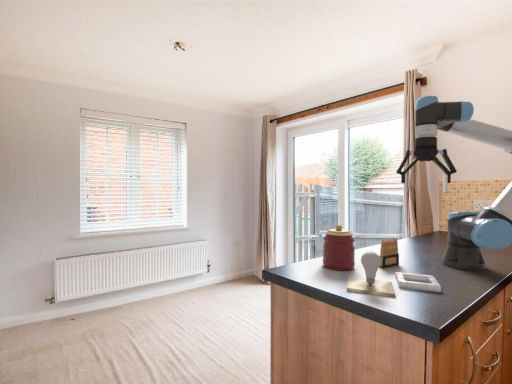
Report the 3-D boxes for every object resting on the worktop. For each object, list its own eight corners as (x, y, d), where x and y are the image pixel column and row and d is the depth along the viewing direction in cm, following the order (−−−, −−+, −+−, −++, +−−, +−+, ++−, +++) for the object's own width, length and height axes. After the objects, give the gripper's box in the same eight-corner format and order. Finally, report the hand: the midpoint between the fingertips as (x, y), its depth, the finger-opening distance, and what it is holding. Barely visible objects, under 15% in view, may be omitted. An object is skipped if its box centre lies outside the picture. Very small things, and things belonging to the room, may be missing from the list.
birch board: (391, 284, 99) (391, 282, 99) (395, 297, 88) (395, 293, 88) (348, 280, 104) (348, 277, 104) (346, 291, 93) (346, 287, 93)
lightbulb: (357, 282, 99) (357, 249, 99) (374, 281, 99) (375, 249, 99) (365, 288, 93) (366, 253, 92) (384, 287, 93) (384, 253, 93)
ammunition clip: (382, 268, 120) (383, 239, 119) (378, 267, 121) (379, 238, 121) (399, 265, 125) (399, 237, 125) (395, 264, 126) (395, 236, 126)
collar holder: (432, 281, 103) (432, 275, 103) (440, 292, 92) (440, 286, 92) (395, 277, 108) (395, 271, 108) (398, 287, 96) (399, 281, 96)
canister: (360, 266, 122) (360, 224, 122) (346, 273, 112) (346, 227, 112) (331, 261, 131) (332, 222, 131) (316, 266, 121) (317, 224, 121)
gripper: (391, 137, 114) (390, 191, 114) (467, 133, 105) (466, 192, 106) (390, 140, 121) (389, 191, 122) (460, 137, 112) (459, 192, 113)
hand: (424, 191), depth 114 cm, fingers open, 13 cm apart
